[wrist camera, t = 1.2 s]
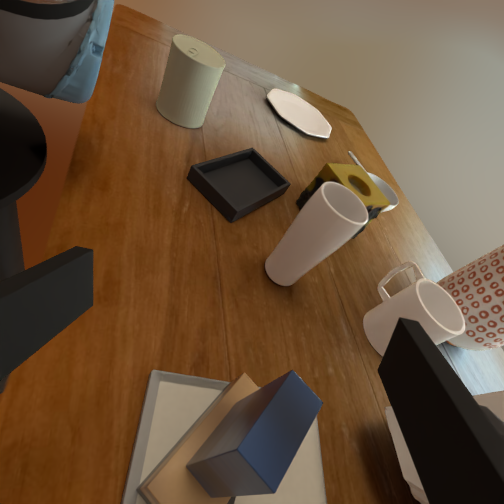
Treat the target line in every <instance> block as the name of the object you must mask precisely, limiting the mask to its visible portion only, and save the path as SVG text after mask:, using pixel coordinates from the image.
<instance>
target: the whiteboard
mask: <svg viewBox="0 0 504 504" xmlns="http://www.w3.org/2000/svg"><path fill="white" fill-rule="evenodd" d="M229 383H230V382H226V381H220V380H213V379H207V378H201V377H195V376H189V375H183V374H177V373H171V372H165V371H158V370H153V371H151V373H150V374H149V379H148V383H147V388H146V392H145V397H144V401H143V406H142V410H141V415H140V419H139V424H138V428H137V433H136V437H135V442H134V446H133V451H132V456H131V460H130V465H129V469H128V474H127V478H126V483H125V487H124V492H123V496H122V501H121V504H146V502H145V501H144V500H143V498H142V497H141V496H140V495H139V493H138V492H137V491H136V489H137V487H138V486H139V485H140V484H141V483H142V482H143V481H144V479H145V478H146V477H147V476H148V475H149V474H150V473H151V471H152V470H153V469H154V468H155V467H156V466H157V465H158V463H159V462H160V461H161V460H162V459H163V458H164V457H165V455H166V454H167V453H168V452H169V451H170V450H171V449H172V447H173V446H174V445H175V444H176V443H177V442H178V441H179V439H180V438H181V437H182V436H183V435H184V434H185V433H186V431H187V430H188V429H189V428H190V427H191V426H192V425H193V423H194V422H195V421H196V420H197V419H198V418H199V417H200V415H201V414H202V413H203V412H204V411H205V410H206V409H207V408H208V406H209V405H210V404H211V403H212V402H213V401H214V400H215V398H216V397H217V396H218V395H219V394H220V393H221V392H222V390H223V389H224V388H225V387H226V386H227V385H228V384H229ZM258 388H259V389H260V388H262V387H258ZM227 504H327V501H326V492H325V483H324V474H323V466H322V457H321V448H320V440H319V431H318V422H317V416H316V418H315V419H314V421H313V423H312V425H311V427H310V429H309V431H308V433H307V434H306V436H305V438H304V440H303V442H302V444H301V446H300V448H299V449H298V451H297V453H296V455H295V457H294V459H293V461H292V463H291V464H290V466H289V468H288V470H287V472H286V474H285V476H284V478H283V479H282V481H281V483H280V485H279V487H278V489H277V491H276V493H275V494H263V495H248V496H234V497H231V498H230V499H229V501H228V503H227Z"/></svg>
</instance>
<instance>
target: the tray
mask: <svg viewBox="0 0 504 504" xmlns="http://www.w3.org/2000/svg"><path fill="white" fill-rule="evenodd" d="M187 179H188V180H189V181H190V182H191V183H192V184H193V185H194V186H195V187H196V188H197V189H198V190H199V191H200V192H201V193H202V194H203V195H204V196H205V197H206V198H207V199H208V200H209V201H210V202H211V203H212V204H213V205H214V206H215V207H216V208H217V209H218V211H219V212H220V213H221V214H222V215H223V216H224V217H225V218H226V219H227V220H228V221H229V222H230V223H232V222H233V221H235V220H237V219H239V218H241V217H242V216H244V215H246V214H248V213H250V212H252V211H253V210H255V209H257V208H259V207H261V206H262V205H264V204H266V203H268V202H270V201H272V200H273V199H275V198H277V197H279V196H281V195H282V194H284V193H285V191H286V190H287V189H288V187H289V186H290V185H291V184H290V183H289V182H288V181H287V180H286V179H285V178H284V177H283V176H282V175H281V174H280V173H279V172H278V171H277V170H276V169H275V168H273V167H272V166H271V165H270V164H269V163H268V162H267V161H266V160H265V159H264V158H263V157H262V156H261V155H260V154H259V153H258V152H257V151H256V150H255V149H253V148H250V149H246V150H243V151H240V152H236V153H233V154H229V155H226V156H223V157H219V158H216V159H212V160H209V161H205V162H202V163H199V164H195V165H192V166H191V168H190V171H189V173H188V176H187Z"/></svg>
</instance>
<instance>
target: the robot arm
mask: <svg viewBox="0 0 504 504" xmlns="http://www.w3.org/2000/svg"><path fill="white" fill-rule="evenodd" d="M113 5H114V0H0V82H2V83H5V84H8V85H11V86H15V87H17V88H21V89H24V90H27V91H30V92H33V93H36V94H39V95H42V96H44V97H46V98H56V99H60V100H64V101H68V102H72V103H84V102H86V101H88V100H89V99H90V98H91V96H92V94H93V91H94V88H95V84H96V81H97V77H98V73H99V69H100V65H101V61H102V56H103V51H104V47H105V43H106V40H107V35H108V31H109V26H110V21H111V16H112V11H113ZM91 306H93V250H92V249H87V248H83V247H78V246H75V247H73V248H71V249H69V250H67V251H65V252H63V253H61V254H58V255H56V256H54V257H52V258H50V259H48V260H46V261H44V262H42V263H40V264H38V265H35V266H33V267H31V268H29V269H27V270H25V271H23V272H21V273H18V274H16V275H14V276H12V277H10V278H8V279H6V280H4V281H2V282H0V381H1V380H2V379H3V378H4V377H6V376H7V375H8V374H9V373H11V372H12V371H13V370H14V369H15V368H17V367H18V366H19V365H20V364H22V363H23V362H24V361H25V360H26V359H28V358H29V357H30V356H31V355H33V354H34V353H35V352H36V351H38V350H39V349H40V348H41V347H42V346H44V345H45V344H46V343H47V342H49V341H50V340H51V339H52V338H53V337H55V336H56V335H57V334H58V333H60V332H61V331H62V330H63V329H65V328H66V327H67V326H68V325H69V324H71V323H72V322H73V321H74V320H76V319H77V318H78V317H79V316H80V315H82V314H83V313H84V312H85V311H87V310H88V309H89V308H90V307H91ZM378 373H379V375H380V378H381V380H382V383H383V386H384V388H385V391H386V393H387V396H388V399H389V401H390V404H391V406H392V409H393V411H394V414H395V417H396V419H397V422H398V424H399V427H400V430H401V432H402V435H403V437H404V440H405V442H406V445H407V448H408V450H409V453H410V455H411V458H412V461H413V463H414V466H415V468H416V471H417V473H418V476H419V479H420V481H421V484H422V486H423V489H424V492H425V494H426V497H427V499H428V502H429V504H504V422H503V421H502V420H501V419H500V418H499V417H498V416H496V415H495V414H494V413H493V412H492V411H491V410H490V409H489V408H487V407H486V406H482V405H479V404H478V403H477V402H476V400H475V399H474V398H473V396H472V395H471V393H470V392H469V391H468V389H467V388H466V387H465V385H464V384H463V382H462V381H461V380H460V378H459V377H458V375H457V374H456V373H455V371H454V370H453V369H452V367H451V366H450V364H449V363H448V362H447V360H446V359H445V358H444V356H443V355H442V353H441V352H440V351H439V349H438V348H437V346H436V345H435V344H434V342H433V341H432V340H431V338H430V337H429V335H428V334H427V333H426V331H425V330H424V329H423V327H422V326H421V324H420V323H419V322H418V321H415V320H411V319H406V318H402V317H399V319H398V321H397V324H396V326H395V329H394V331H393V334H392V336H391V339H390V341H389V343H388V346H387V348H386V351H385V353H384V356H383V358H382V361H381V363H380V365H379V368H378Z"/></svg>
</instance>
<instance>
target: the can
mask: <svg viewBox="0 0 504 504" xmlns="http://www.w3.org/2000/svg"><path fill="white" fill-rule="evenodd" d="M224 67H225V61H224V59H223V57H222V56H221V55H220V54H219V53H218V52H217V51H216V50H214V49H213V48H212V47H210V46H209V45H207V44H205V43H204V42H202V41H200V40H198V39H195V38H193V37H190V36H187V35H182V34H177V35H174V36H173V38H172V44H171V49H170V53H169V57H168V61H167V65H166V69H165V73H164V77H163V81H162V85H161V89H160V93H159V96H158V99H157V101H156V107H157V109H158V111H159V112H160V113H161V114H162V115H163V116H164V117H165V118H166V119H168V120H169V121H171V122H173V123H174V124H177V125H179V126H182V127H186V128H199V127H201V126H202V125H203V123H204V119H205V116H206V113H207V110H208V107H209V105H210V102H211V99H212V97H213V94H214V92H215V89H216V87H217V84H218V81H219V79H220V76H221V74H222V71H223V69H224Z"/></svg>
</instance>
